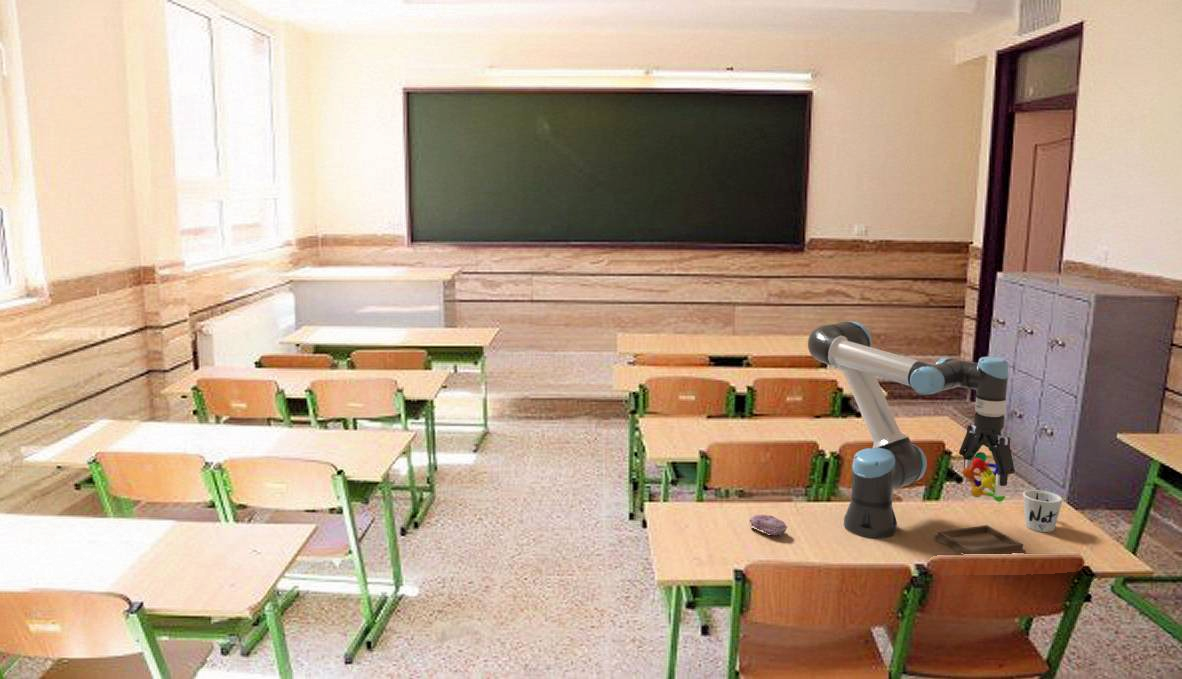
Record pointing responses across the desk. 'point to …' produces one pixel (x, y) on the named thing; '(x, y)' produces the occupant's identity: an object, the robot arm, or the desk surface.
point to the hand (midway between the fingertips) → (983, 488)
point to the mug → (1041, 510)
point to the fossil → (768, 524)
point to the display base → (979, 541)
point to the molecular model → (987, 479)
